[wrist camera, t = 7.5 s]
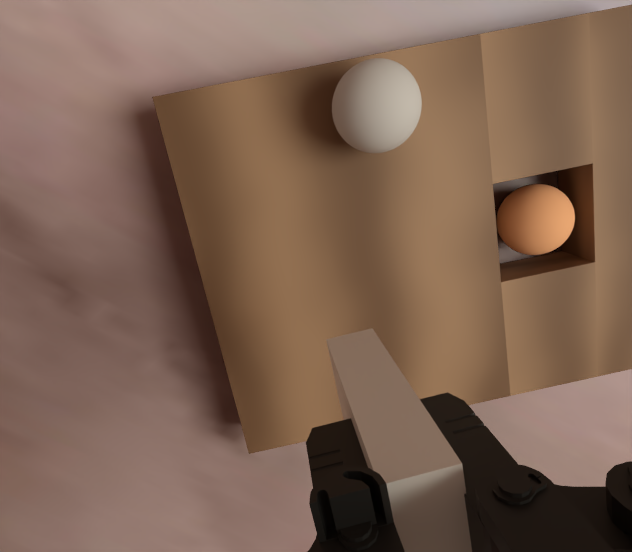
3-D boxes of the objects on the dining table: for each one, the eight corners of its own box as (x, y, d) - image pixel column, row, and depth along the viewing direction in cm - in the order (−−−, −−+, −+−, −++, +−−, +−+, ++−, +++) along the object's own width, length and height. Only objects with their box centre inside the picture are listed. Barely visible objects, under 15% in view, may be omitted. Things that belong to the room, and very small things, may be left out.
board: (251, 423, 24) (249, 453, 21) (167, 104, 19) (152, 97, 17) (615, 343, 24) (652, 364, 22) (611, 18, 20) (657, -1, 18)
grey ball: (335, 160, 18) (347, 161, 15) (320, 76, 17) (329, 58, 14) (412, 145, 18) (439, 142, 15) (401, 60, 17) (428, 39, 14)
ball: (487, 262, 21) (560, 265, 19) (481, 193, 20) (557, 189, 18) (516, 243, 23) (586, 244, 21) (512, 180, 22) (584, 175, 20)
